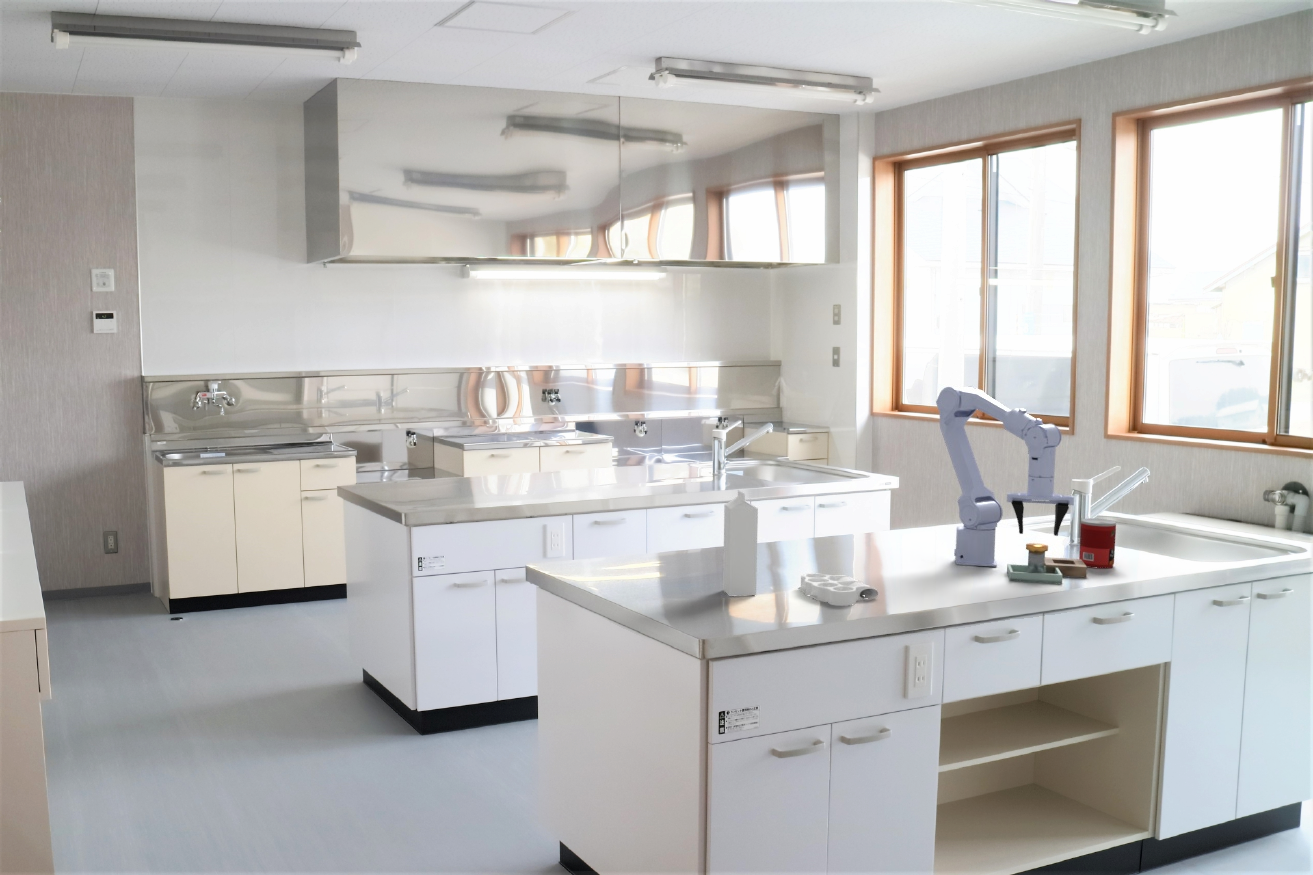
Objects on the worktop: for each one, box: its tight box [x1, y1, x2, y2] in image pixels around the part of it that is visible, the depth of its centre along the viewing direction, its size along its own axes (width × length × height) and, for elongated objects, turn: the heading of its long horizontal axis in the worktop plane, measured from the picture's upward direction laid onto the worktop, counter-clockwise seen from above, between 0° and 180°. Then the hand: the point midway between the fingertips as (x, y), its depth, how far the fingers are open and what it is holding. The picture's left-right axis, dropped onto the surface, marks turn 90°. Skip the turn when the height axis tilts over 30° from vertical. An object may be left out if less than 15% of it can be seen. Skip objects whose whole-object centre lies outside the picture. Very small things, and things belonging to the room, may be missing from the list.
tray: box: [1006, 563, 1064, 585], centre depth 250 cm, size 11×9×2 cm
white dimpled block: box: [797, 572, 879, 607], centre depth 232 cm, size 3×18×15 cm
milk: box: [722, 489, 759, 596], centre depth 231 cm, size 6×6×22 cm
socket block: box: [1044, 556, 1088, 579], centre depth 257 cm, size 9×9×2 cm
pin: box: [1025, 542, 1049, 574], centre depth 250 cm, size 5×5×7 cm
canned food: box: [1078, 518, 1117, 569], centre depth 265 cm, size 8×8×11 cm
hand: (1038, 534), depth 252 cm, fingers open, 7 cm apart
